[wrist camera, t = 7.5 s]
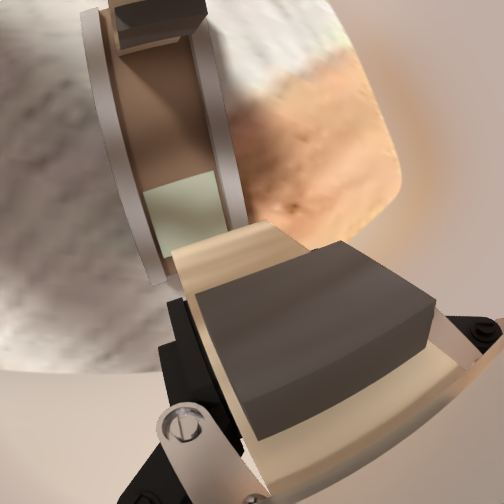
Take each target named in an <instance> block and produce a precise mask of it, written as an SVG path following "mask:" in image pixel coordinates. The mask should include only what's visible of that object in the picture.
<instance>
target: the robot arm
mask: <svg viewBox="0 0 504 504" xmlns="http://www.w3.org/2000/svg"><path fill="white" fill-rule="evenodd" d="M317 249H318V248H317ZM317 249H314V250H317ZM314 250H311V252H312V251H314ZM167 307H168V311H169V315H170V319H171V324H172V327H173V331H174V335H175V339H176V341H174V342H171V343H168V344H165V345H162V346H159V347H158V351H159V357H160V362H161V367H162V372H163V377H164V381H165V386H166V390H167V395H168V398H169V403H170V408H168V409H166V410H165V411H164V412H163V413H162V414H161V416H160V417H159V420H158V421H157V426H156V432H157V436H158V438H159V440H160V443H159V444H158V446H157V447H156V448H155V450H154V451H153V453H152V454H151V455H150V457H149V458H148V459H147V461H146V462H145V464H144V465H143V466H142V468H141V469H140V470H139V472H138V473H137V475H136V476H135V477H134V479H133V480H132V481H131V483H130V484H129V485H128V487H127V488H126V489H125V491H124V492H123V494H122V495H121V496H120V498H119V500H118V502H117V504H504V318H501V319H496V320H495V321H493V320H492V319H489V318H487V317H470V316H444V315H443V314H442V313H441V312H440V311H439V310H438V309H437V308H436V307H435V310H434V315H433V320H432V324H431V328H430V333H429V337H428V340H429V341H430V342H431V343H433V344H434V345H435V346H436V347H438V348H439V349H440V350H441V351H443V352H444V353H445V354H446V355H448V356H449V357H450V358H451V359H453V360H454V361H455V362H456V363H457V364H459V365H460V366H461V367H462V368H464V369H465V370H466V372H465V373H464V374H463V375H462V376H461V377H460V378H459V379H458V380H456V381H455V382H454V383H453V384H452V385H451V386H450V387H449V388H447V389H446V390H445V391H444V392H443V393H442V394H440V395H439V396H438V397H437V398H436V399H434V400H433V401H432V402H431V403H429V404H428V405H427V406H426V407H424V408H423V409H422V410H421V411H419V412H418V413H417V414H415V415H414V416H413V417H411V418H410V419H409V420H407V421H406V422H405V423H403V424H402V425H401V426H399V427H398V428H396V429H395V430H393V431H392V432H391V433H389V434H388V435H386V436H385V437H383V438H382V439H380V440H379V441H377V442H375V443H374V444H372V445H371V446H369V447H368V448H366V449H364V450H363V451H361V452H359V453H358V454H356V455H354V456H353V457H351V458H349V459H348V460H346V461H344V462H342V463H340V464H339V465H337V466H335V467H333V468H331V469H329V470H328V471H326V472H324V473H322V474H320V475H318V476H316V477H314V478H312V479H310V480H308V481H306V482H303V483H301V484H299V485H297V486H295V487H293V488H290V489H288V490H286V491H283V492H281V493H279V494H276V495H274V496H271V495H270V494H269V493H268V491H267V490H266V489H265V488H264V487H263V485H262V484H261V483H260V482H259V480H258V479H257V478H256V477H255V475H254V474H253V473H252V472H251V470H250V469H249V468H248V467H247V465H246V464H245V463H244V461H243V460H242V459H241V456H242V455H243V453H244V449H243V445H242V443H241V440H240V439H241V438H243V437H242V435H241V433H240V431H239V428H238V426H237V424H236V422H235V420H234V417H233V415H232V413H231V411H230V408H229V406H228V404H227V401H226V399H225V397H224V394H223V392H222V390H221V387H220V385H219V382H218V380H217V378H216V375H215V373H214V370H213V368H212V365H211V363H210V360H209V358H208V355H207V353H206V350H205V347H204V345H203V342H202V340H201V337H200V334H199V332H198V329H197V326H196V324H195V321H194V318H193V315H192V313H191V310H190V307H189V304H188V301H187V300H186V301H183V299H182V297H181V298H178V299H175V300H173V301H170V302H167Z"/></svg>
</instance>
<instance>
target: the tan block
mask: <svg viewBox="0 0 504 504" xmlns="http://www.w3.org/2000/svg"><path fill="white" fill-rule="evenodd" d="M171 254H172V257H173V260H174V263H175V266H176V269H177V272H178V275H179V278H180V281H181V284H182V287H183V290H184V293H185V296H186V299H187V301H188V304H189V307H190V310H191V313H192V315H193V318H194V321H195V324H196V326H197V329H198V332H199V334H200V337H201V340H202V342H203V345H204V347H205V350H206V353H207V355H208V358H209V360H210V363H211V365H212V368H213V370H214V373H215V375H216V378H217V380H218V382H219V385H220V387H221V390H222V392H223V394H224V397H225V399H226V401H227V404H228V406H229V408H230V411H231V413H232V415H233V417H234V420H235V422H236V424H237V426H238V428H239V431H240V433H241V435H242V437H243V439H244V441H245V444H246V446H247V448H248V450H249V452H250V454H251V456H252V458H253V460H254V462H255V464H256V467H257V469H258V470H259V473H260V475H261V477H262V479H263V480H264V482H265V484H266V486H267V488H268V490H269V492H270V494H271V496H274V495H276V494H279V493H281V492H283V491H286V490H288V489H290V488H293V487H295V486H297V485H299V484H301V483H303V482H306V481H308V480H310V479H312V478H314V477H316V476H318V475H320V474H322V473H324V472H326V471H328V470H329V469H331V468H333V467H335V466H337V465H339V464H340V463H342V462H344V461H346V460H348V459H349V458H351V457H353V456H354V455H356V454H358V453H359V452H361V451H363V450H364V449H366V448H368V447H369V446H371V445H372V444H374V443H375V442H377V441H379V440H380V439H382V438H383V437H385V436H386V435H388V434H389V433H391V432H392V431H393V430H395V429H396V428H398V427H399V426H401V425H402V424H403V423H405V422H406V421H407V420H409V419H410V418H411V417H413V416H414V415H415V414H417V413H418V412H419V411H421V410H422V409H423V408H424V407H426V406H427V405H428V404H429V403H431V402H432V401H433V400H434V399H436V398H437V397H438V396H439V395H440V394H442V393H443V392H444V391H445V390H446V389H447V388H449V387H450V386H451V385H452V384H453V383H454V382H455V381H456V380H458V379H459V378H460V377H461V376H462V375H463V374H464V373H465V372H466V370H465V369H464V368H462V367H461V366H460V365H459V364H457V363H456V362H455V361H454V360H453V359H451V358H450V357H449V356H448V355H446V354H445V353H444V352H443V351H441V350H440V349H439V348H438V347H436V346H435V345H434V344H433V343H431V342H430V341H429V340H428V337H429V333H430V328H431V324H432V320H433V315H434V310H435V305H436V299H434V298H433V297H431V296H430V295H428V294H427V293H425V292H424V291H422V290H420V289H419V288H417V287H416V286H414V285H413V284H411V283H410V282H408V281H407V280H405V279H403V278H402V277H400V276H399V275H397V274H395V273H394V272H392V271H391V270H388V269H387V268H386V267H384V266H383V265H381V264H379V263H378V262H376V261H374V260H373V259H371V258H370V257H368V256H366V255H365V254H363V253H361V252H360V251H358V250H356V249H355V248H353V247H351V246H350V245H348V244H346V243H345V242H343V241H338V242H335V243H333V244H330V245H327V246H325V247H322V248H320V249H317V250H314V251H312V252H311V251H310V250H308V249H307V248H305V247H304V246H303V245H301V244H300V243H299V242H297V241H296V240H294V239H293V238H292V237H290V236H289V235H287V234H286V233H284V232H283V231H282V230H280V229H279V228H277V227H276V226H275V225H273V224H272V223H270V222H269V221H267V220H263V221H260V222H257V223H254V224H251V225H247V226H244V227H241V228H238V229H235V230H232V231H229V232H226V233H223V234H220V235H217V236H214V237H211V238H208V239H205V240H202V241H199V242H196V243H193V244H190V245H187V246H184V247H181V248H178V249H175V250H172V251H171Z"/></svg>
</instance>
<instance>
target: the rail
mask: <svg viewBox="0 0 504 504" xmlns="http://www.w3.org/2000/svg"><path fill="white" fill-rule="evenodd" d="M108 5H109V8H108V9H104V10H101V11H99V10H98V7H96V8H93V9H90V10H87V11H84V12H81V13H80V18H81V26H82V34H83V41H84V48H85V54H86V60H87V66H88V71H89V77H90V82H91V87H92V92H93V97H94V102H95V106H96V111H97V115H98V119H99V124H100V128H101V132H102V136H103V140H104V143H105V147H106V151H107V155H108V158H109V162H110V166H111V169H112V173H113V176H114V179H115V183H116V186H117V189H118V193H119V196H120V199H121V202H122V205H123V208H124V211H125V214H126V217H127V220H128V223H129V226H130V229H131V232H132V235H133V238H134V240H135V243H136V246H137V249H138V251H139V254H140V257H141V259H142V262H143V265H144V267H145V270H146V273H147V275H148V278H149V280H150V283H151V285H152V286H155V285H158V284H161V283H163V282H166V281H167V277H166V276H168V275H171V274H174V273H177V269H176V266H175V263H174V260H173V257H172V254H171V251H172V250H175V249H178V248H181V247H184V246H187V245H190V244H193V243H196V242H199V241H202V240H205V239H208V238H211V237H214V236H217V235H220V234H223V233H226V232H229V231H232V230H235V229H238V228H241V227H244V226H247V225H249V222H248V217H247V212H246V207H245V203H244V198H243V193H242V188H241V183H240V178H239V173H238V168H237V164H236V159H235V154H234V149H233V144H232V139H231V134H230V130H229V125H228V120H227V115H226V110H225V105H224V100H223V96H222V91H221V86H220V81H219V76H218V72H217V67H216V62H215V57H214V52H213V48H212V43H211V38H210V33H209V28H208V24H207V19H206V16H207V14H208V12H207V7H206V3H205V0H108Z"/></svg>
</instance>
